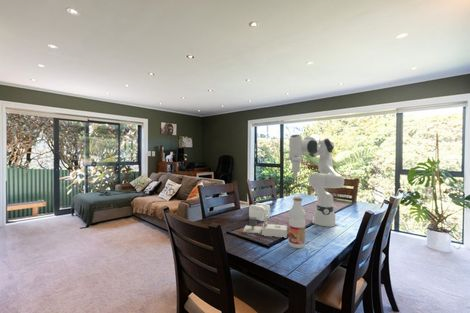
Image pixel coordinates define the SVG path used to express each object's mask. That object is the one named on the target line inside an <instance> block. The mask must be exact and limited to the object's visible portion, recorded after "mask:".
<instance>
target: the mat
mask: <svg viewBox="0 0 470 313" xmlns="http://www.w3.org/2000/svg"><path fill="white" fill-rule="evenodd" d="M261 230H262V226H257V225H256V226H255V227H254V230H253V229H251V226H249V225H247V224H246V225H245V226H244V228H243V229H242V233H245V232H246V234H255V233H258V234H259V235H262V231H261ZM258 234H257V235H258Z"/></svg>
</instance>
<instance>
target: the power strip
mask: <svg viewBox="0 0 470 313" xmlns="http://www.w3.org/2000/svg"><path fill="white" fill-rule="evenodd" d="M261 227H262V231H261V236H262V235H264V236H263V237H272V236H275V238H282V237H284V239H287V238H288V226H287V225H283V224H270V223H267V226H264V223H262V226H261Z"/></svg>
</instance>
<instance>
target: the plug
mask: <svg viewBox="0 0 470 313" xmlns="http://www.w3.org/2000/svg"><path fill="white" fill-rule="evenodd" d="M248 221H249V222H248V226H251V229H253V230H254V227H255V226H257V222H259V223H260V222H262V221H261V220H257V217H249V220H248Z"/></svg>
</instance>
